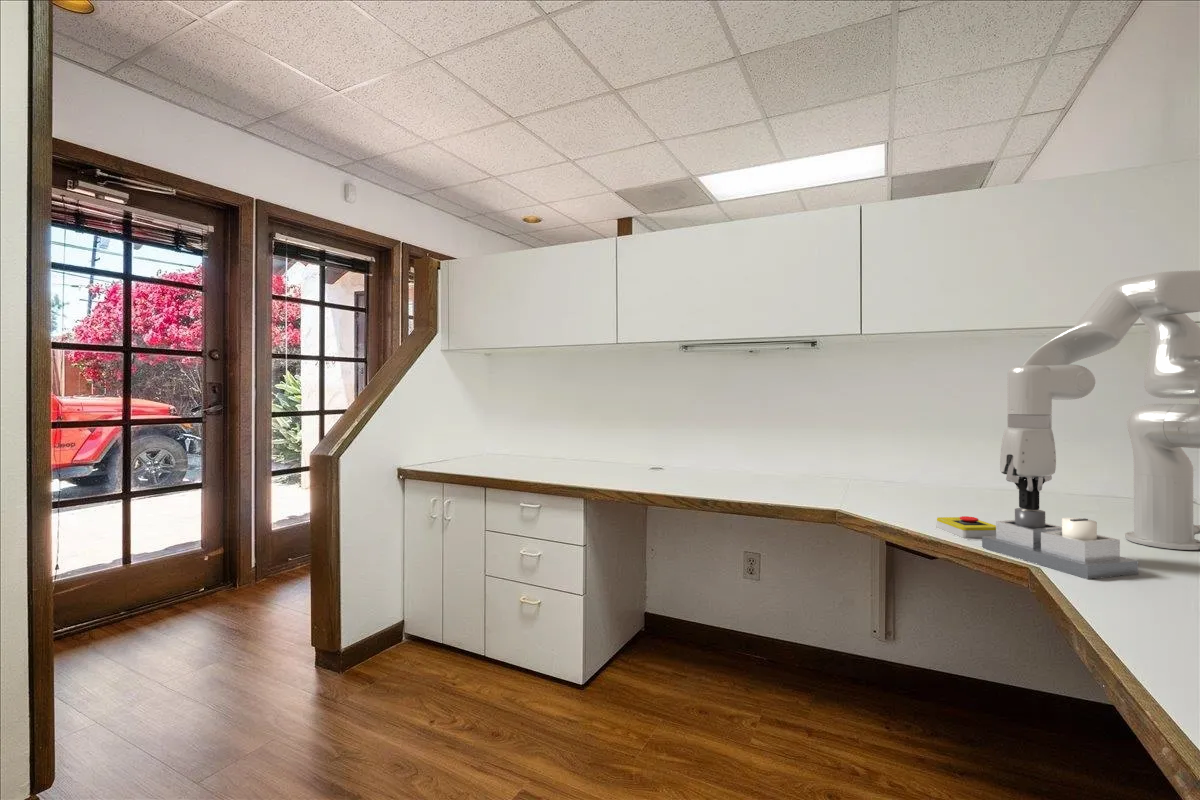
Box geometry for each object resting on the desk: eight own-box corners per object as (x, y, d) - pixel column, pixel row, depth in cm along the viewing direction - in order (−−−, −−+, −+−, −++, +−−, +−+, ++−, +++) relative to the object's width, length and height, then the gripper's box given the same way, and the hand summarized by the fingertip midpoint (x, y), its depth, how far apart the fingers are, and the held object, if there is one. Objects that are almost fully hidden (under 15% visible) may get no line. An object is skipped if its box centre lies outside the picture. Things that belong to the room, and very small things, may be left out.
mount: (1025, 544, 126) (1025, 517, 126) (1138, 574, 105) (1137, 541, 105) (982, 547, 124) (981, 520, 124) (1087, 579, 102) (1087, 545, 102)
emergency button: (967, 524, 130) (929, 510, 145) (967, 542, 130) (929, 527, 145) (1007, 523, 130) (965, 510, 145) (1007, 542, 130) (965, 527, 145)
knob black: (1028, 534, 122) (1027, 506, 122) (1051, 540, 117) (1051, 511, 117) (1008, 536, 121) (1008, 507, 121) (1031, 542, 116) (1031, 512, 116)
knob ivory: (1075, 546, 113) (1075, 515, 113) (1104, 553, 108) (1103, 521, 108) (1055, 548, 112) (1055, 517, 111) (1082, 555, 106) (1082, 522, 106)
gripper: (1039, 422, 124) (1039, 504, 125) (984, 422, 121) (984, 507, 121) (1075, 423, 117) (1075, 510, 117) (1017, 424, 114) (1017, 514, 114)
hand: (1029, 508), depth 119 cm, fingers closed
